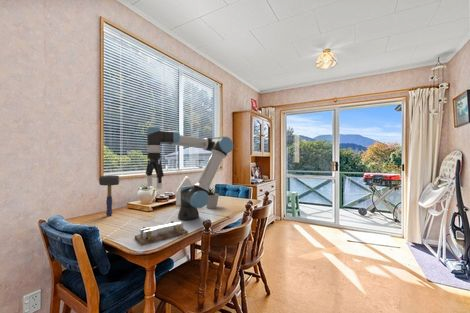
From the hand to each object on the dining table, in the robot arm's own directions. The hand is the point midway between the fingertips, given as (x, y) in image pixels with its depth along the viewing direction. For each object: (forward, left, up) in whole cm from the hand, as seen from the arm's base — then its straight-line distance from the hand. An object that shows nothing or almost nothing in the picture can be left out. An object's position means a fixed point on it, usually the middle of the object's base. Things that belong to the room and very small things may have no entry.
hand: (154, 187), depth 132 cm
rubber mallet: (+15, -51, -26) cm, 59 cm away
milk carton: (-50, -54, -26) cm, 78 cm away
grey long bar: (-1, +13, -25) cm, 28 cm away
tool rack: (0, +13, -26) cm, 29 cm away
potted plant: (-59, -26, -26) cm, 70 cm away
